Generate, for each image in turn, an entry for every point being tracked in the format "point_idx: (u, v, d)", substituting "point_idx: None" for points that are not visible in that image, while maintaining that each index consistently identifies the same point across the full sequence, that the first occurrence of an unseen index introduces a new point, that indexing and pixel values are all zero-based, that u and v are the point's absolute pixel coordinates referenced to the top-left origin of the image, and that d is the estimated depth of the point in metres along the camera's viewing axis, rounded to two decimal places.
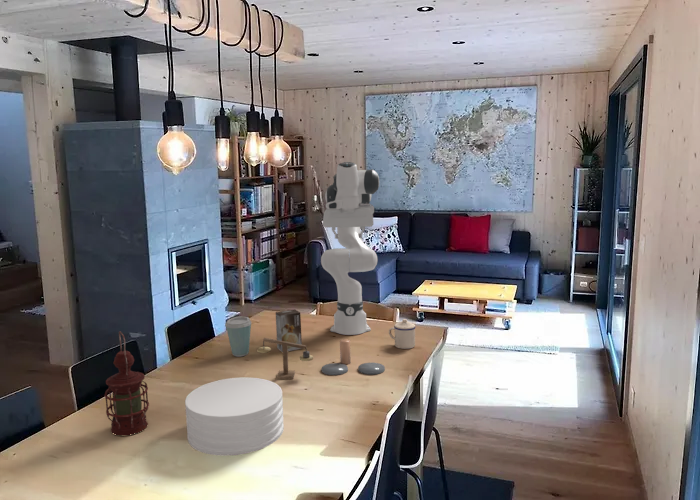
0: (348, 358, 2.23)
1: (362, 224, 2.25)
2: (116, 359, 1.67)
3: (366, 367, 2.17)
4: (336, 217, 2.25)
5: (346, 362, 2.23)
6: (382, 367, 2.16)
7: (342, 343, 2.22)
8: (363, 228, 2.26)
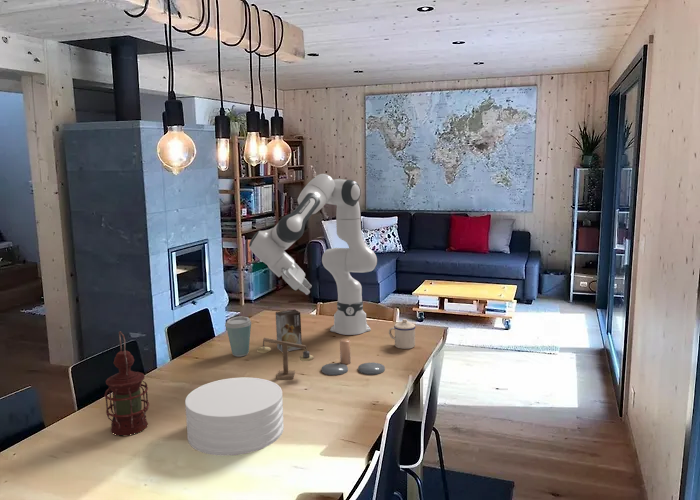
0: (348, 358, 2.23)
1: None
2: (116, 359, 1.67)
3: (366, 367, 2.17)
4: None
5: (346, 362, 2.23)
6: (382, 367, 2.16)
7: (342, 343, 2.22)
8: (299, 289, 2.14)
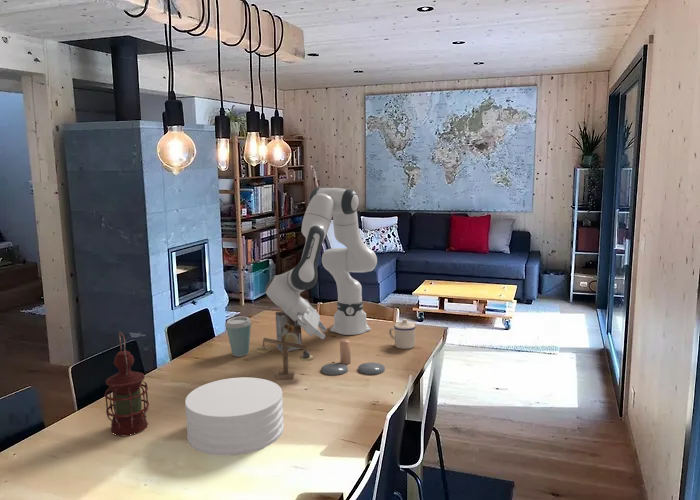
0: (348, 358, 2.23)
1: None
2: (116, 359, 1.67)
3: (366, 367, 2.17)
4: None
5: (346, 362, 2.23)
6: (382, 367, 2.16)
7: (342, 343, 2.22)
8: None
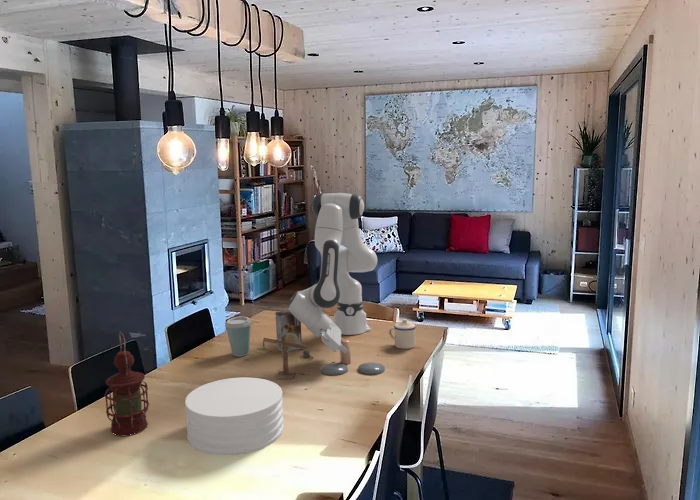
0: (348, 358, 2.23)
1: None
2: (116, 359, 1.67)
3: (366, 367, 2.17)
4: None
5: (346, 362, 2.23)
6: (382, 367, 2.16)
7: (342, 343, 2.22)
8: None
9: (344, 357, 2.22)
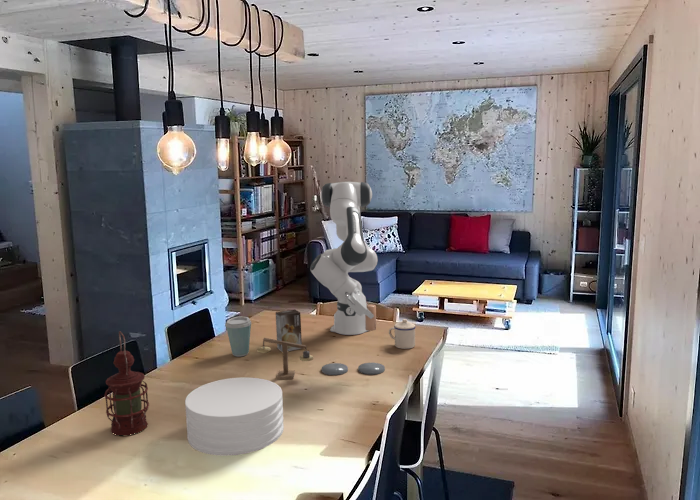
0: (374, 324, 2.12)
1: None
2: (116, 359, 1.67)
3: (366, 367, 2.17)
4: None
5: (372, 328, 2.12)
6: (382, 367, 2.16)
7: (368, 308, 2.11)
8: None
9: (370, 323, 2.12)
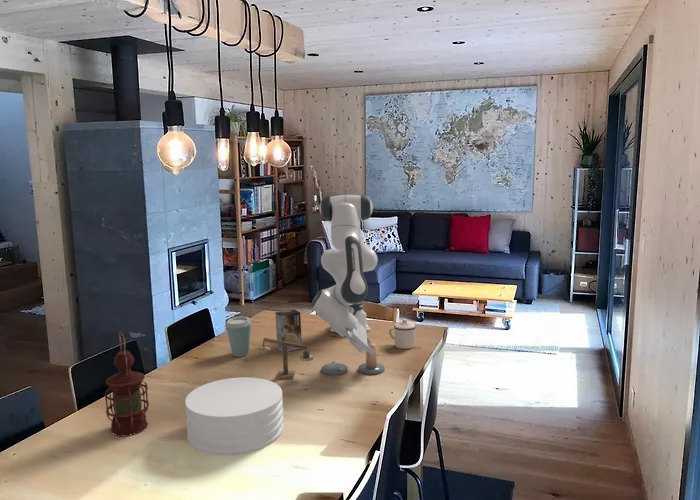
0: (374, 362, 2.15)
1: None
2: (116, 359, 1.67)
3: None
4: None
5: (372, 366, 2.15)
6: (382, 367, 2.16)
7: None
8: None
9: (370, 361, 2.14)
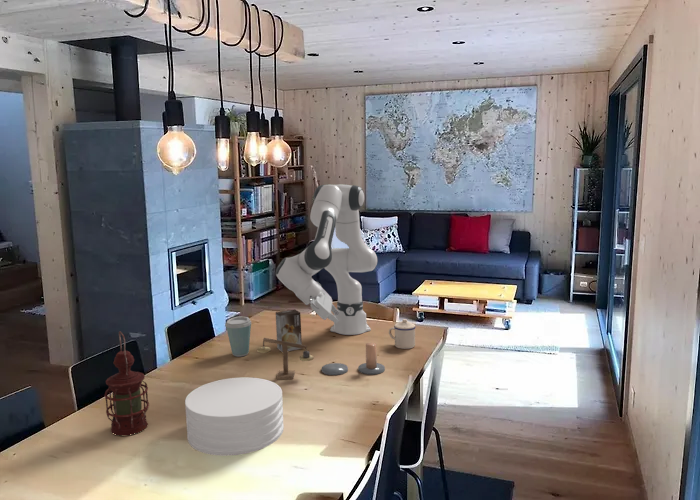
0: (374, 362, 2.15)
1: None
2: (116, 359, 1.67)
3: None
4: None
5: (372, 366, 2.15)
6: (382, 367, 2.16)
7: (368, 347, 2.14)
8: None
9: (370, 361, 2.14)
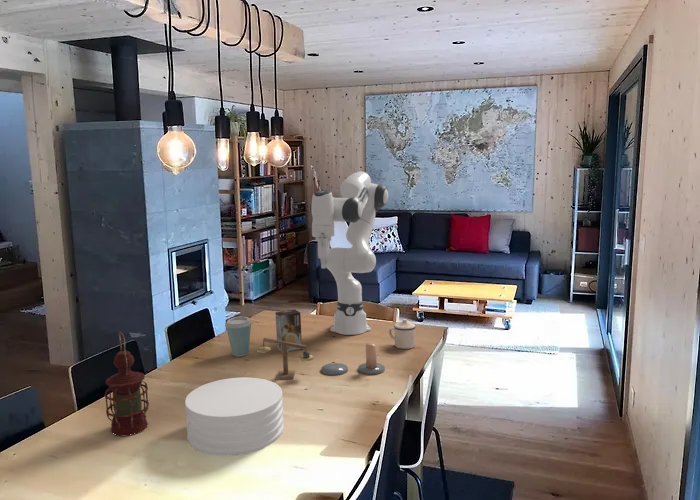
0: (374, 362, 2.15)
1: None
2: (116, 359, 1.67)
3: None
4: None
5: (372, 366, 2.15)
6: (382, 367, 2.16)
7: (368, 347, 2.14)
8: (320, 258, 2.22)
9: (370, 361, 2.14)
